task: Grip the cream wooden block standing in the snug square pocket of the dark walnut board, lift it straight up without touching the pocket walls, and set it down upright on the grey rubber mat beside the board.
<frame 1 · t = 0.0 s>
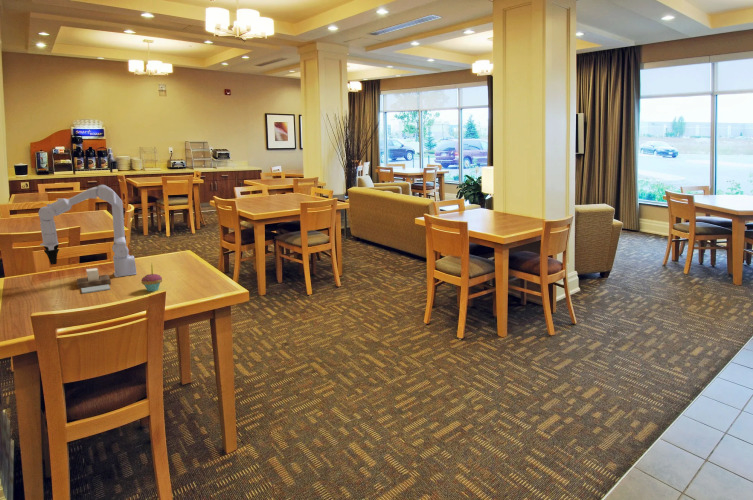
hand: (53, 262, 235), 10 cm above the table, tool pointing down, fingers open, 7 cm apart
cupcake: (153, 290, 228), on the table
pocket board: (94, 284, 236), on the table
cream block: (93, 277, 235), in the pocket board
grey mat: (95, 289, 228), on the table
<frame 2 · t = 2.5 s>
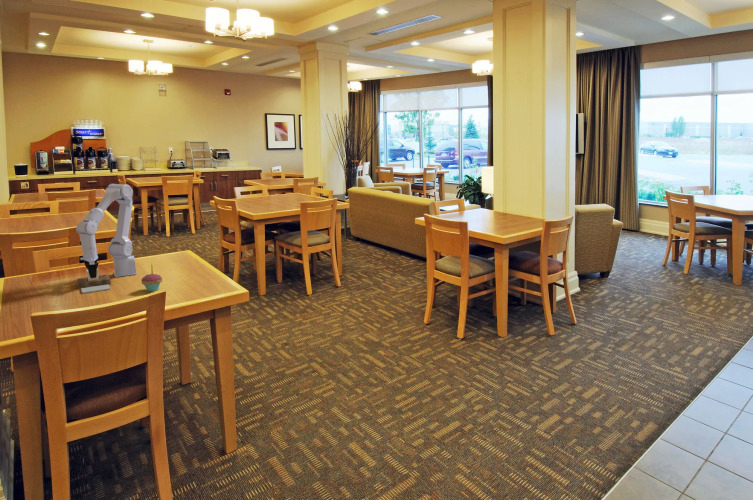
hand: (93, 276, 235), 4 cm above the table, tool pointing down, fingers closed on cream block, 4 cm apart
cream block: (93, 276, 235), in the pocket board, touching gripper
everything else where it was.
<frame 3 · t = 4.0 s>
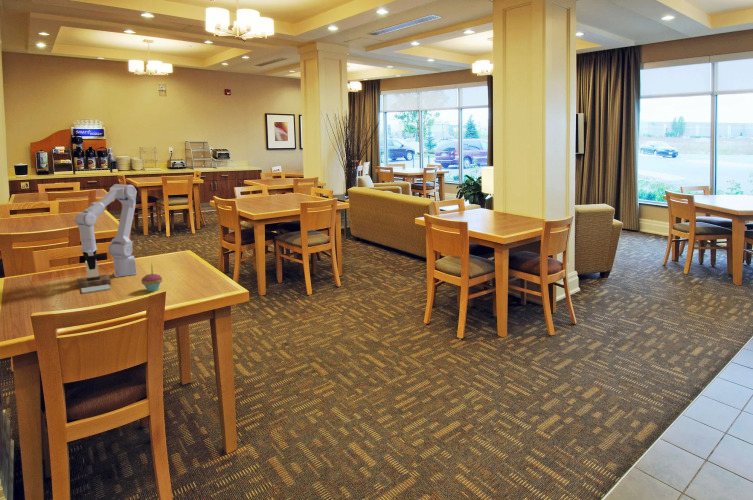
hand: (91, 267, 234), 8 cm above the table, tool pointing down, fingers closed on cream block, 4 cm apart
cream block: (92, 268, 234), point 8 cm above the table, touching gripper
everything else where it was.
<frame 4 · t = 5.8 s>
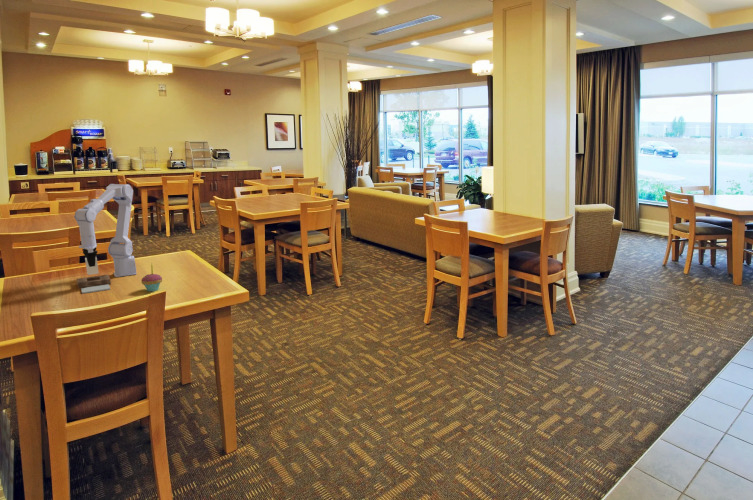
hand: (91, 265, 231), 10 cm above the table, tool pointing down, fingers closed on cream block, 4 cm apart
cream block: (91, 265, 231), point 10 cm above the table, touching gripper
everything else where it was.
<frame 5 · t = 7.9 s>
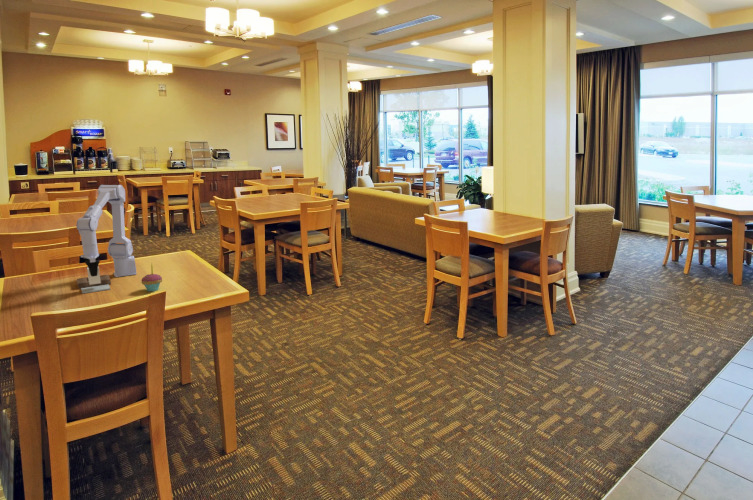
hand: (93, 274, 226), 7 cm above the table, tool pointing down, fingers closed on cream block, 4 cm apart
cream block: (93, 275, 227), point 7 cm above the table, touching gripper
everything else where it was.
when the fingers open (5 cm above the table, at t = 9.4 s): cream block stays where it is, resting on grey mat.
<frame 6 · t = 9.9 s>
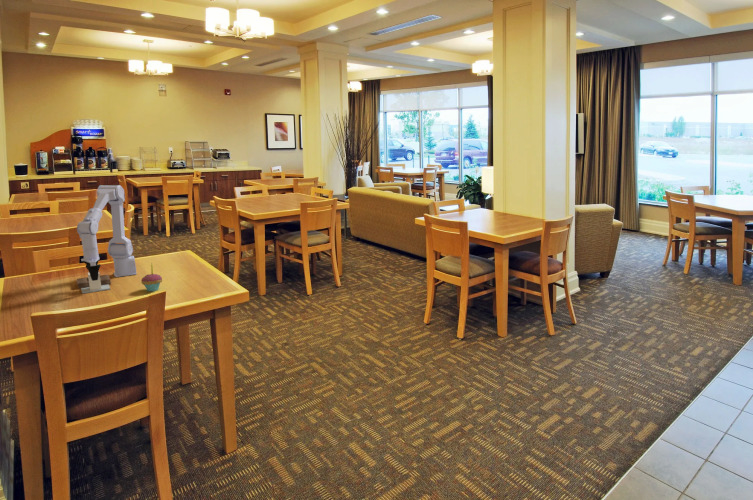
hand: (94, 278, 227), 5 cm above the table, tool pointing down, fingers open, 7 cm apart
cream block: (94, 280, 227), on the grey mat, point 4 cm above the table
everything else where it was.
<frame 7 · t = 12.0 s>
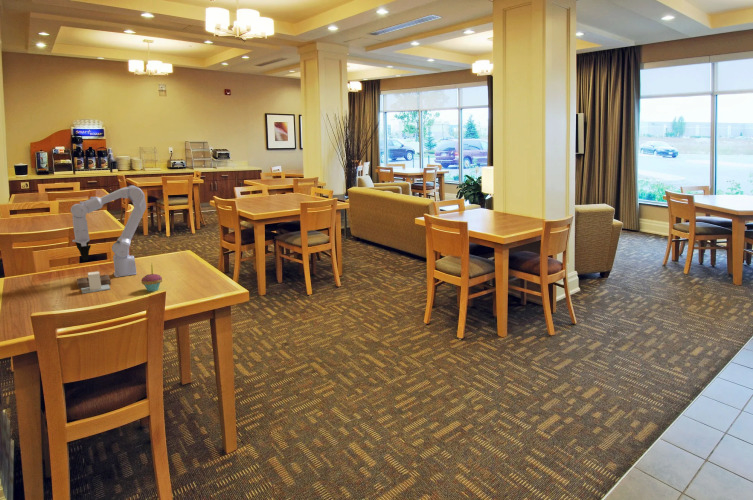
hand: (84, 258, 241), 10 cm above the table, tool pointing down, fingers open, 7 cm apart
nothing on the table moved.
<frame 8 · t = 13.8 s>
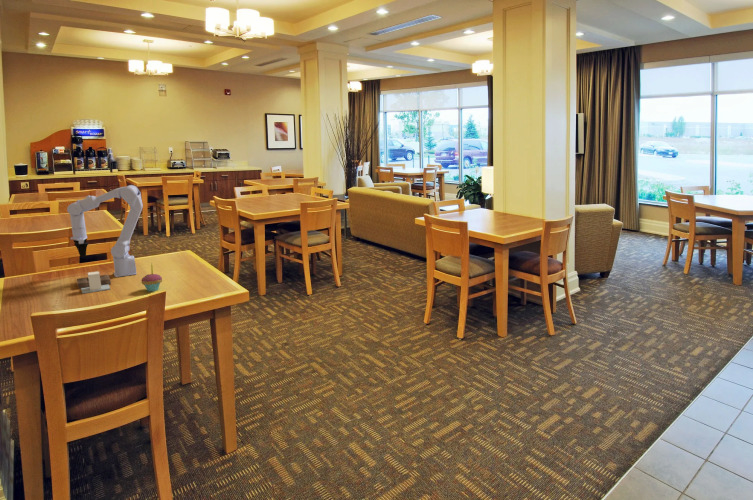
hand: (82, 255, 246), 10 cm above the table, tool pointing down, fingers open, 7 cm apart
nothing on the table moved.
at the end: cream block 0.0 cm off-centre on the grey mat, point 4.1 cm above the grey mat's base; cream block tilted 0°; the gripper is holding nothing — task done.
